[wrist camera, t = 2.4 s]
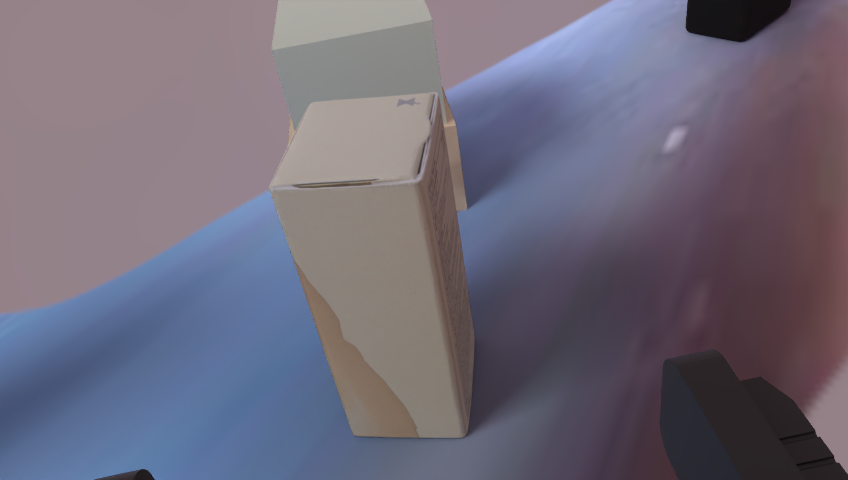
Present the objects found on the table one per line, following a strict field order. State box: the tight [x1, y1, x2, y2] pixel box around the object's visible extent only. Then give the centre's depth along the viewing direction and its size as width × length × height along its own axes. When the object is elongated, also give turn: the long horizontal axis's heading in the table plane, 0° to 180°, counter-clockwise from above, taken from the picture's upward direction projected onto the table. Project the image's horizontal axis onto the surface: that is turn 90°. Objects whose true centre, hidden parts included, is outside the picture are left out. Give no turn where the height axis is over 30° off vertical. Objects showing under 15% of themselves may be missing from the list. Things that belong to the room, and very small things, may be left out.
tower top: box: [271, 0, 447, 131], centre depth 34 cm, size 7×7×5 cm
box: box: [269, 92, 475, 438], centre depth 24 cm, size 5×4×11 cm
